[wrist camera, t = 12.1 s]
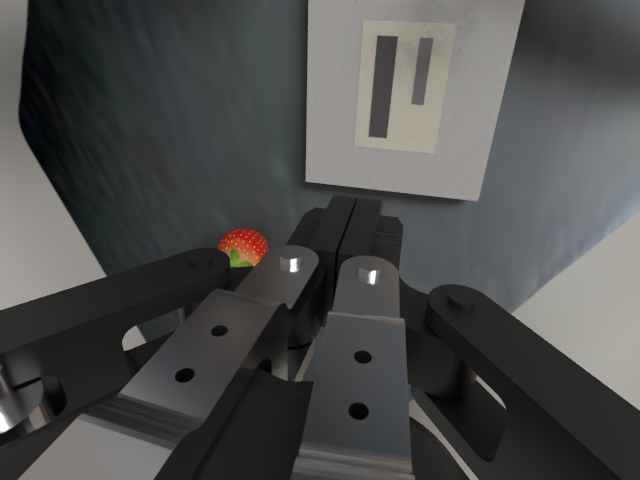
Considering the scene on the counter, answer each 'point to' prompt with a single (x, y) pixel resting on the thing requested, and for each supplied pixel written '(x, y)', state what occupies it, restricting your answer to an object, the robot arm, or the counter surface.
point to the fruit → (244, 247)
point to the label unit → (406, 92)
